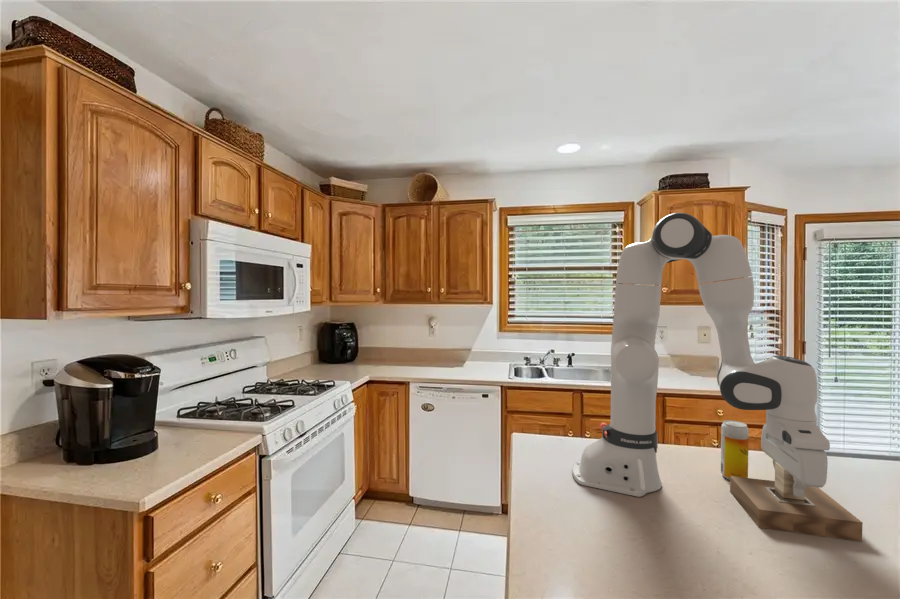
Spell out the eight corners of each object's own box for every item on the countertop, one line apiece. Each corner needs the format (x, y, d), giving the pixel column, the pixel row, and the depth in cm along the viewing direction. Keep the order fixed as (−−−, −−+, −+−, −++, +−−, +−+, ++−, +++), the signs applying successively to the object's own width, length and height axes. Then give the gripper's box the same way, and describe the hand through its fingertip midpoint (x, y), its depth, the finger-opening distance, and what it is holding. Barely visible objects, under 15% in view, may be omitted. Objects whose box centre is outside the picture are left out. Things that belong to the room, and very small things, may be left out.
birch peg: (782, 517, 91) (783, 469, 91) (774, 508, 95) (774, 461, 95) (804, 520, 90) (805, 471, 90) (794, 510, 94) (795, 464, 94)
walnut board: (758, 527, 87) (759, 508, 87) (729, 491, 103) (730, 475, 103) (862, 541, 82) (862, 521, 82) (815, 501, 98) (815, 484, 98)
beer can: (752, 484, 107) (753, 427, 106) (726, 481, 108) (727, 426, 107) (740, 473, 113) (741, 420, 112) (716, 471, 114) (717, 419, 113)
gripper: (753, 413, 103) (752, 466, 103) (798, 442, 83) (796, 508, 84) (783, 415, 101) (782, 469, 102) (835, 446, 81) (833, 513, 82)
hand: (789, 487), depth 92 cm, fingers open, 5 cm apart
